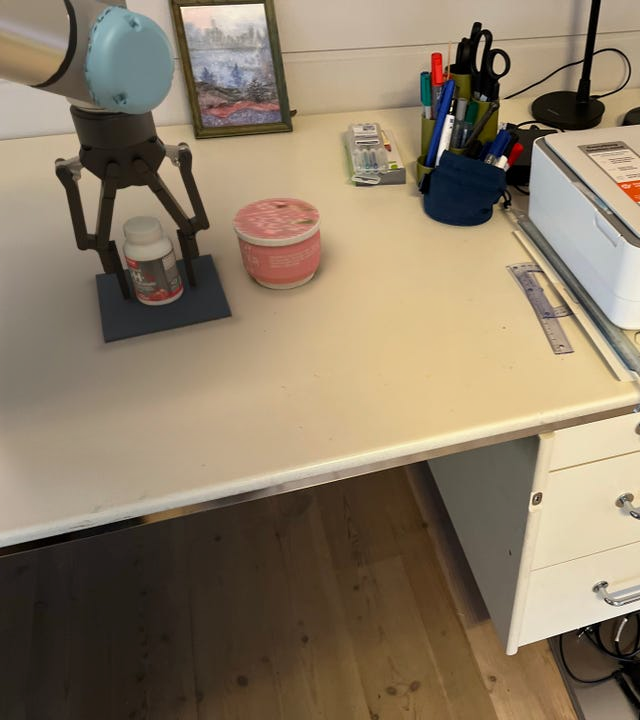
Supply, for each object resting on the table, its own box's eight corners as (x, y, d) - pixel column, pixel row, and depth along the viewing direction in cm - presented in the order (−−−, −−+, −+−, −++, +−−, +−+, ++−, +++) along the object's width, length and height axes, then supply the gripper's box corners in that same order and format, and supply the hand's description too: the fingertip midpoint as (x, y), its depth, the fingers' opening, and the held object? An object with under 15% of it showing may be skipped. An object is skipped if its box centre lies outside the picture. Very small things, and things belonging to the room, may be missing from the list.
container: (323, 295, 94) (317, 239, 88) (236, 296, 92) (226, 240, 87) (328, 250, 101) (323, 196, 96) (248, 250, 100) (239, 196, 95)
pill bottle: (129, 305, 89) (107, 234, 83) (148, 279, 93) (128, 210, 87) (174, 309, 89) (155, 238, 83) (190, 283, 93) (174, 214, 87)
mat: (104, 342, 85) (103, 340, 84) (96, 277, 94) (95, 274, 94) (231, 316, 89) (231, 313, 89) (211, 256, 99) (210, 253, 99)
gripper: (203, 76, 82) (236, 255, 97) (-1, 97, 75) (68, 286, 90) (215, 102, 77) (248, 287, 92) (-3, 126, 70) (71, 322, 85)
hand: (159, 286), depth 91 cm, fingers open, 7 cm apart
